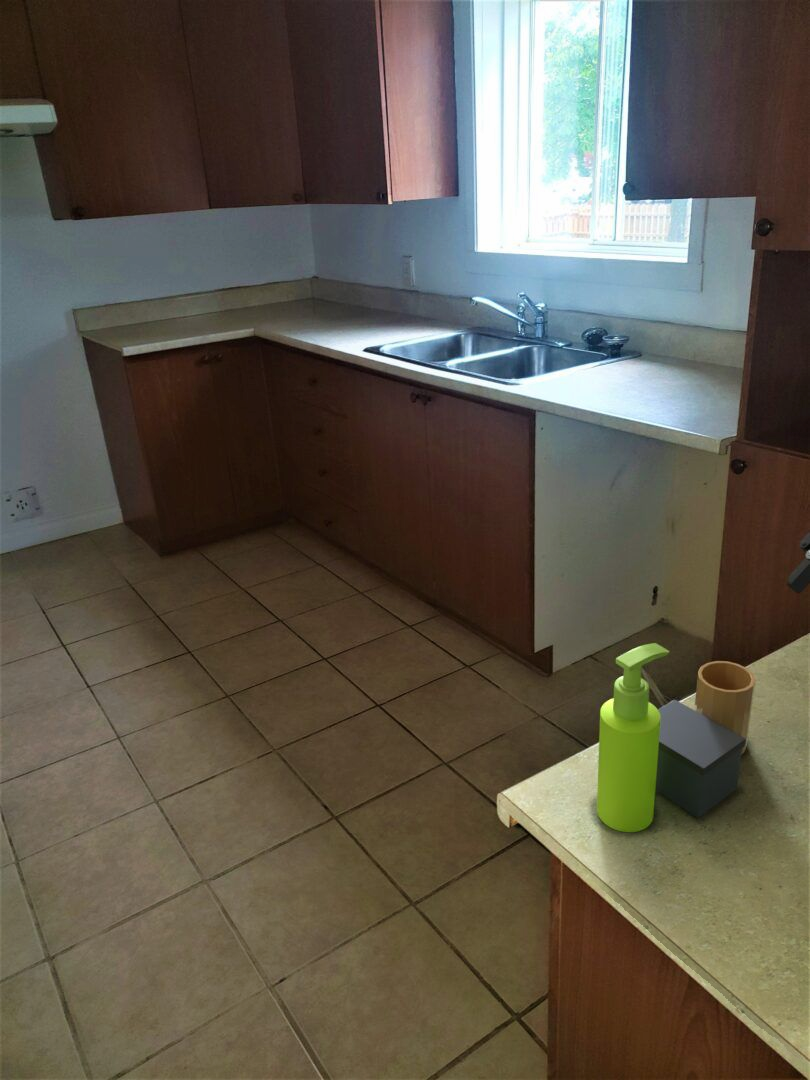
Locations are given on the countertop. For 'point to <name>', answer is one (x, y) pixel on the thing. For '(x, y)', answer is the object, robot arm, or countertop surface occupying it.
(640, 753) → the soap dispenser
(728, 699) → the cup
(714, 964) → the countertop surface
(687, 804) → the dark grey box
